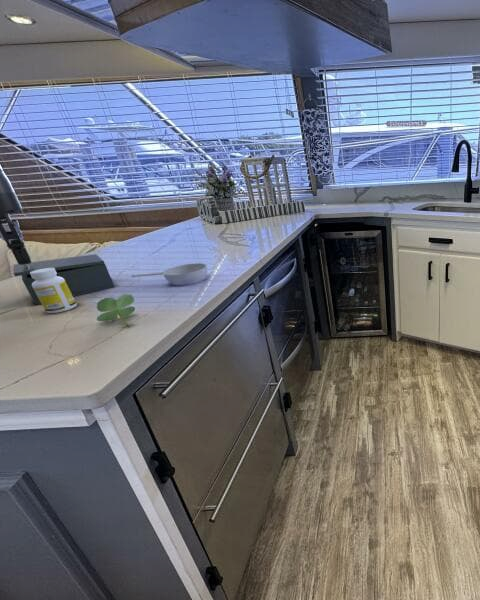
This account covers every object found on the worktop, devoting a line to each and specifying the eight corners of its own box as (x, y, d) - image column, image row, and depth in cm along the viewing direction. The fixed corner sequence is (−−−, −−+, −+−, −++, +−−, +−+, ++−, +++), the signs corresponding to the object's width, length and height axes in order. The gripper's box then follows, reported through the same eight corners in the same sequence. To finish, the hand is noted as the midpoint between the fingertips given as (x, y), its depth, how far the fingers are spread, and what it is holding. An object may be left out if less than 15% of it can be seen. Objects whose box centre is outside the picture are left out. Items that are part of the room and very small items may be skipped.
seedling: (130, 343, 70) (117, 323, 72) (157, 317, 70) (143, 298, 72) (94, 339, 63) (81, 317, 65) (125, 311, 63) (111, 289, 65)
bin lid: (14, 276, 76) (4, 253, 74) (14, 267, 84) (5, 246, 82) (104, 263, 88) (97, 243, 86) (97, 256, 96) (90, 237, 94)
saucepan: (207, 282, 91) (203, 269, 89) (130, 294, 84) (125, 280, 83) (211, 272, 100) (207, 260, 98) (142, 282, 93) (137, 269, 92)
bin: (35, 305, 80) (21, 279, 77) (33, 294, 88) (20, 270, 85) (114, 286, 91) (105, 263, 88) (106, 278, 98) (97, 256, 96)
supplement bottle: (69, 303, 80) (51, 265, 76) (82, 305, 78) (64, 267, 74) (41, 312, 76) (20, 272, 72) (53, 315, 74) (32, 275, 70)
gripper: (-33, 192, 76) (3, 261, 83) (-39, 193, 68) (2, 270, 74) (13, 189, 82) (44, 254, 88) (14, 191, 73) (48, 263, 79)
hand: (25, 261), depth 81 cm, fingers closed on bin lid, 5 cm apart
